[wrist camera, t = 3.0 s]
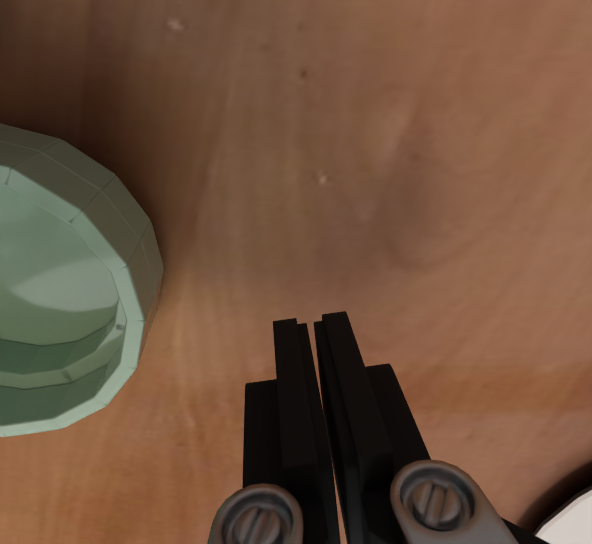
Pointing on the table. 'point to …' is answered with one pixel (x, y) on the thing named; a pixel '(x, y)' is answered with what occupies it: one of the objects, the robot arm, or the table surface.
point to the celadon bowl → (68, 283)
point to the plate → (569, 521)
